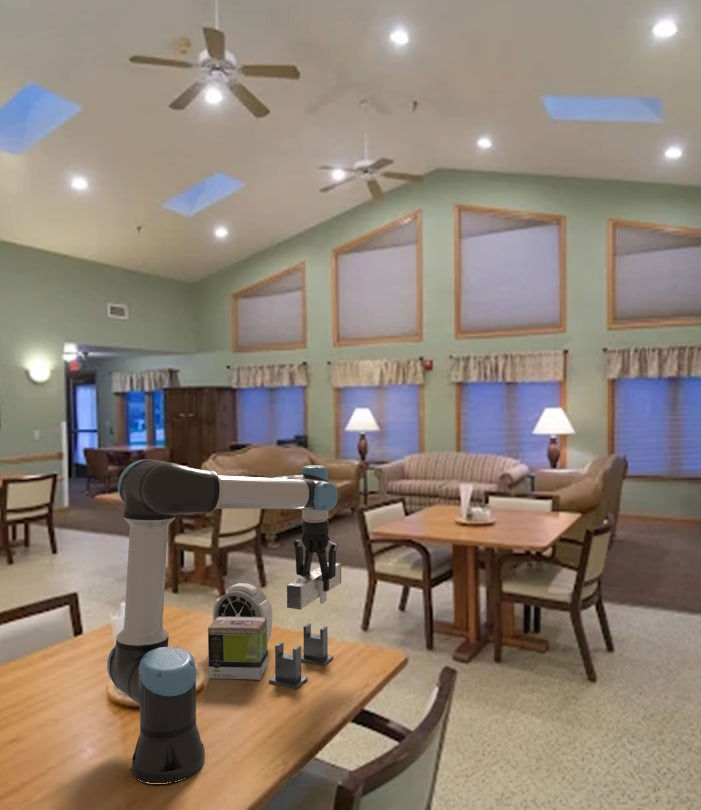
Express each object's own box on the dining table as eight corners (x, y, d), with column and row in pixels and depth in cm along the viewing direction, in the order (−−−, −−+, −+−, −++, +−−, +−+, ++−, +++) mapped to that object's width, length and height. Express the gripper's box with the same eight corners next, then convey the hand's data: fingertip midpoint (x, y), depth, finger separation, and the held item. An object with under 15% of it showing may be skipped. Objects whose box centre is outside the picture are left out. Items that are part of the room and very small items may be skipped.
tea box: (268, 666, 185) (267, 616, 185) (260, 681, 175) (259, 628, 175) (218, 664, 187) (218, 614, 187) (207, 679, 177) (207, 627, 177)
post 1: (296, 688, 171) (296, 652, 170) (268, 682, 174) (268, 646, 174) (307, 679, 176) (307, 644, 176) (280, 673, 180) (279, 639, 180)
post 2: (324, 665, 185) (324, 632, 185) (297, 660, 189) (297, 627, 189) (333, 658, 190) (333, 625, 190) (307, 653, 194) (307, 620, 194)
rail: (300, 609, 168) (300, 586, 168) (287, 607, 169) (286, 585, 169) (341, 583, 191) (341, 563, 191) (329, 581, 193) (329, 561, 193)
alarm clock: (210, 650, 197) (210, 586, 197) (223, 640, 205) (223, 578, 205) (263, 656, 192) (262, 590, 192) (274, 646, 200) (274, 582, 200)
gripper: (347, 519, 180) (348, 600, 180) (295, 515, 187) (296, 593, 187) (336, 524, 173) (337, 609, 173) (282, 519, 180) (283, 601, 180)
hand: (315, 600), depth 180 cm, fingers closed on rail, 4 cm apart
